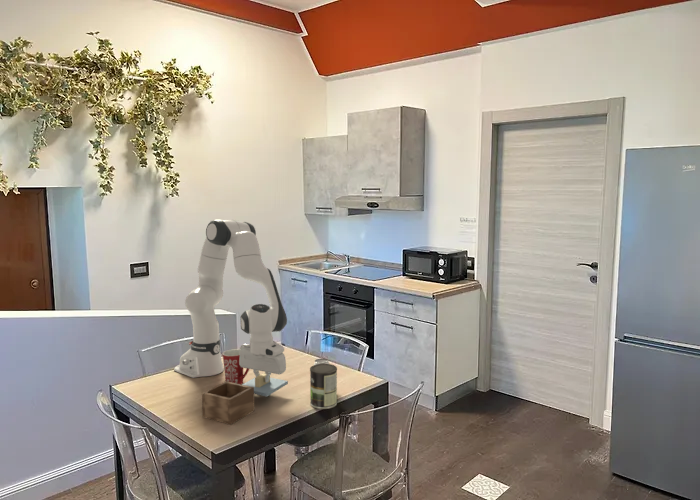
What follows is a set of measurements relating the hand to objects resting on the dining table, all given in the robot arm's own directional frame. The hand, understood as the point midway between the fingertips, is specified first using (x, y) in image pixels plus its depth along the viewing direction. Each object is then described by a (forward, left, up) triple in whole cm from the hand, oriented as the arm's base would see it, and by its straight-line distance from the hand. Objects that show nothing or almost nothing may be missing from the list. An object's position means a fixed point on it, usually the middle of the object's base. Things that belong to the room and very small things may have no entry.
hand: (262, 381), depth 205 cm
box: (-2, -17, -7) cm, 19 cm away
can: (+16, +19, -7) cm, 25 cm away
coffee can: (+24, +7, -7) cm, 26 cm away
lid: (0, 0, -3) cm, 3 cm away
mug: (-18, +7, -7) cm, 21 cm away
